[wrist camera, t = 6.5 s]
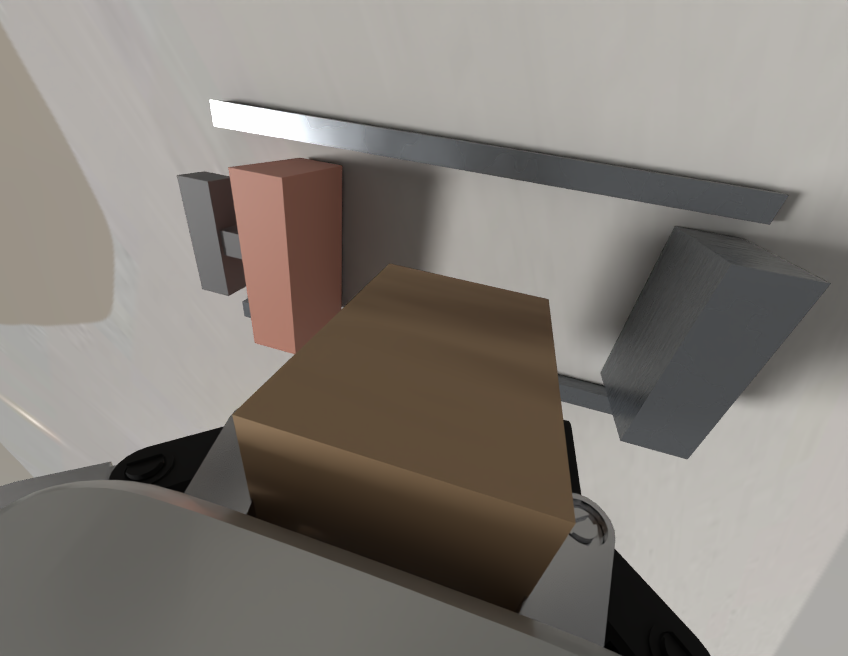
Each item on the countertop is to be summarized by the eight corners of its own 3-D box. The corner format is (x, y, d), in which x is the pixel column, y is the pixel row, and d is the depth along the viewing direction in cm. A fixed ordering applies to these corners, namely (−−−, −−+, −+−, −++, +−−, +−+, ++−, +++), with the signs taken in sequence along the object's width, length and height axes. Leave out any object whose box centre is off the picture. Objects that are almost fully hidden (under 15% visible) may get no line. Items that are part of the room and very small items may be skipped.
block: (389, 263, 11) (232, 413, 5) (548, 299, 10) (575, 523, 4) (376, 419, 15) (275, 612, 9) (493, 454, 14) (468, 690, 8)
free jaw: (224, 143, 20) (133, 148, 15) (342, 165, 19) (281, 177, 14) (246, 285, 25) (181, 322, 20) (341, 309, 24) (295, 354, 19)
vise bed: (223, 100, 19) (126, 92, 14) (774, 191, 15) (883, 219, 10) (253, 310, 26) (194, 349, 21) (636, 411, 22) (665, 486, 17)
